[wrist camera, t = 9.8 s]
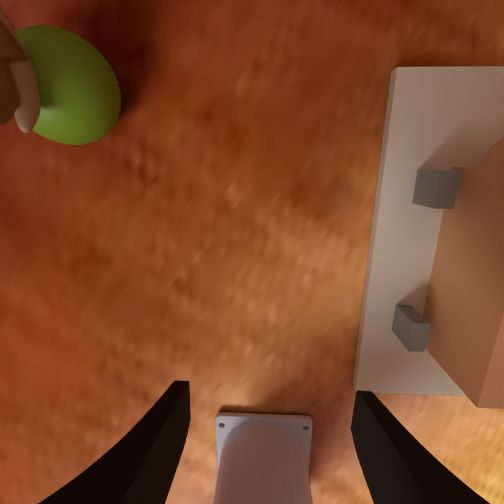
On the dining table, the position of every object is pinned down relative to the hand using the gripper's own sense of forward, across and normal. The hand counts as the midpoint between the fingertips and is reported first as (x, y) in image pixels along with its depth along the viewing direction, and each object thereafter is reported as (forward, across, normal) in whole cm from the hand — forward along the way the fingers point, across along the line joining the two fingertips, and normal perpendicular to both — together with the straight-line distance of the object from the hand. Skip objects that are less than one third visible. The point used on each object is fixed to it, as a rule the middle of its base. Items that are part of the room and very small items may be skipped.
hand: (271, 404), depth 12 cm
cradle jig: (+9, -13, -4) cm, 16 cm away
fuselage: (+8, -13, -5) cm, 16 cm away
